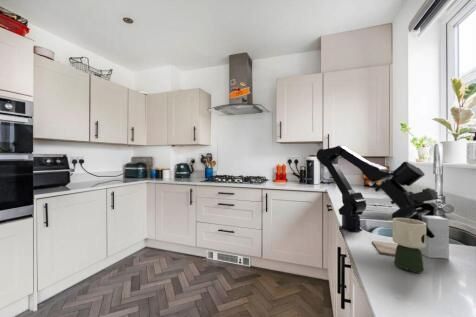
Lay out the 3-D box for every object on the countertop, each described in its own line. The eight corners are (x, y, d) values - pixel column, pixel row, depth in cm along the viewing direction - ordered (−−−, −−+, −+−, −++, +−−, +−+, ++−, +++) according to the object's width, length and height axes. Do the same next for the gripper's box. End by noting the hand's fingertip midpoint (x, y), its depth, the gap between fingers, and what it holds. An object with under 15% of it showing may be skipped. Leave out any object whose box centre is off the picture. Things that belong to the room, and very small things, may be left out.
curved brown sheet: (372, 242, 75) (372, 240, 75) (398, 245, 72) (398, 244, 72) (380, 253, 66) (380, 252, 66) (411, 258, 63) (411, 256, 63)
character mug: (429, 282, 50) (430, 228, 50) (393, 273, 54) (393, 223, 55) (422, 264, 59) (422, 218, 60) (391, 257, 63) (391, 214, 64)
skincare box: (437, 252, 67) (437, 215, 67) (449, 259, 63) (449, 219, 63) (417, 251, 68) (417, 214, 68) (427, 257, 64) (427, 218, 64)
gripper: (403, 180, 65) (451, 226, 55) (430, 179, 73) (477, 218, 63) (376, 201, 72) (415, 245, 62) (404, 197, 80) (442, 235, 70)
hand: (438, 235), depth 64 cm, fingers closed on skincare box, 7 cm apart
